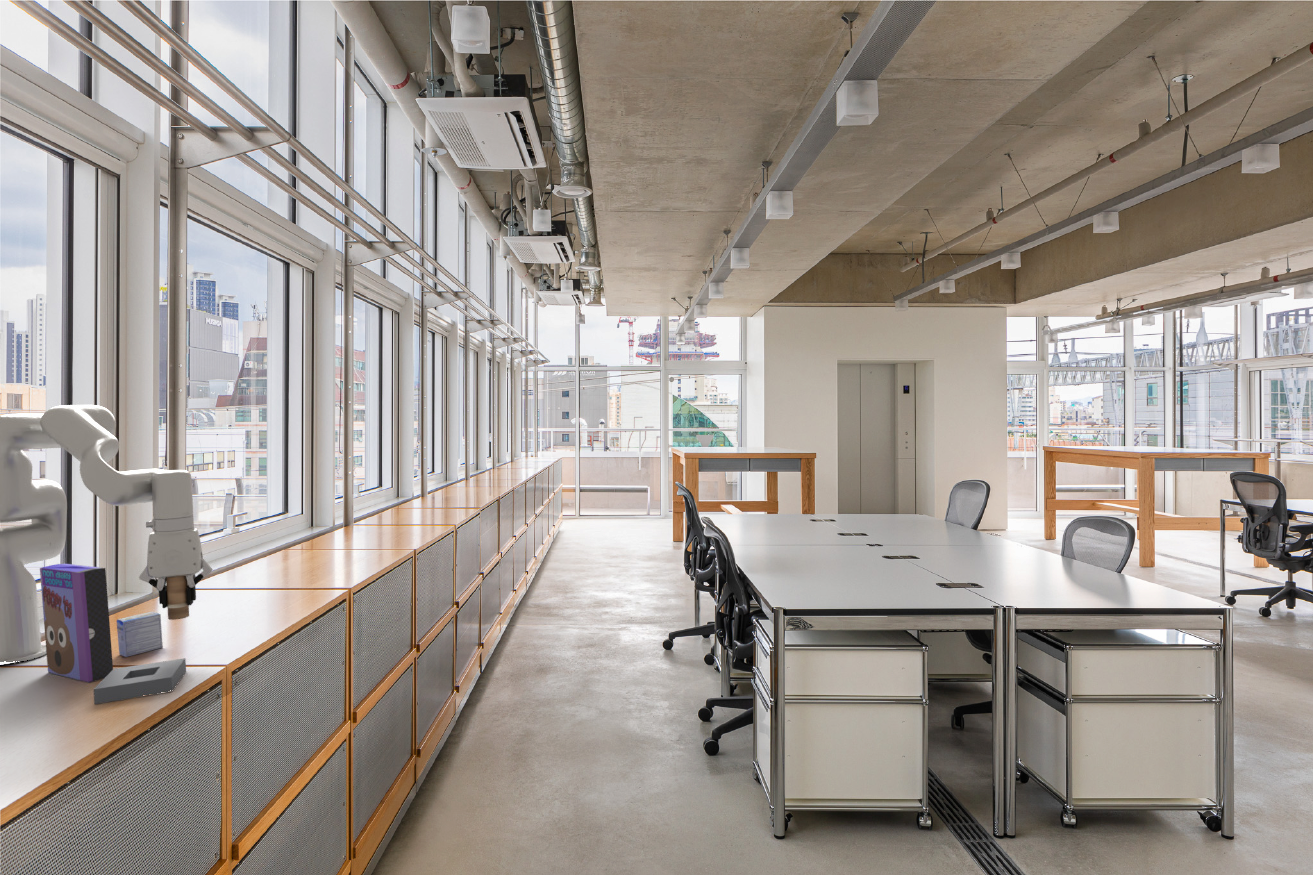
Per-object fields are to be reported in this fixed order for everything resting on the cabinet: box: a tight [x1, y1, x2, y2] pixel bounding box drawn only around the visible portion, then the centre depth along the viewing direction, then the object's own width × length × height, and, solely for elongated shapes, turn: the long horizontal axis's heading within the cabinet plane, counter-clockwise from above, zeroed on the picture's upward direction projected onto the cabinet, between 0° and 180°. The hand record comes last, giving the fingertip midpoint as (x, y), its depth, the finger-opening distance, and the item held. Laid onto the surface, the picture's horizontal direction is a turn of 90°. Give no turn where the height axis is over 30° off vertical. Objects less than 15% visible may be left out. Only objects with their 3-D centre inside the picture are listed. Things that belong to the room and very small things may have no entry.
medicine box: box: [116, 611, 164, 658], centre depth 176 cm, size 8×4×9 cm, turn 144°
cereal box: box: [39, 563, 114, 684], centre depth 161 cm, size 17×5×24 cm, turn 62°
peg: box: [166, 576, 190, 621], centre depth 165 cm, size 4×4×12 cm
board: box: [93, 657, 187, 705], centre depth 151 cm, size 13×13×3 cm
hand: (178, 604), depth 165 cm, fingers closed on peg, 4 cm apart
